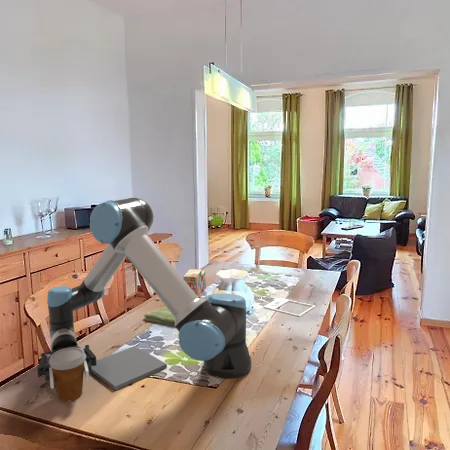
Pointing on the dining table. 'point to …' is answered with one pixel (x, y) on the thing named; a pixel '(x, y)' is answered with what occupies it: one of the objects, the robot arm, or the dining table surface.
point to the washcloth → (161, 316)
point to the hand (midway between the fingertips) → (70, 379)
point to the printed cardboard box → (196, 280)
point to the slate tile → (126, 367)
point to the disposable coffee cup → (68, 372)
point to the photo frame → (281, 301)
